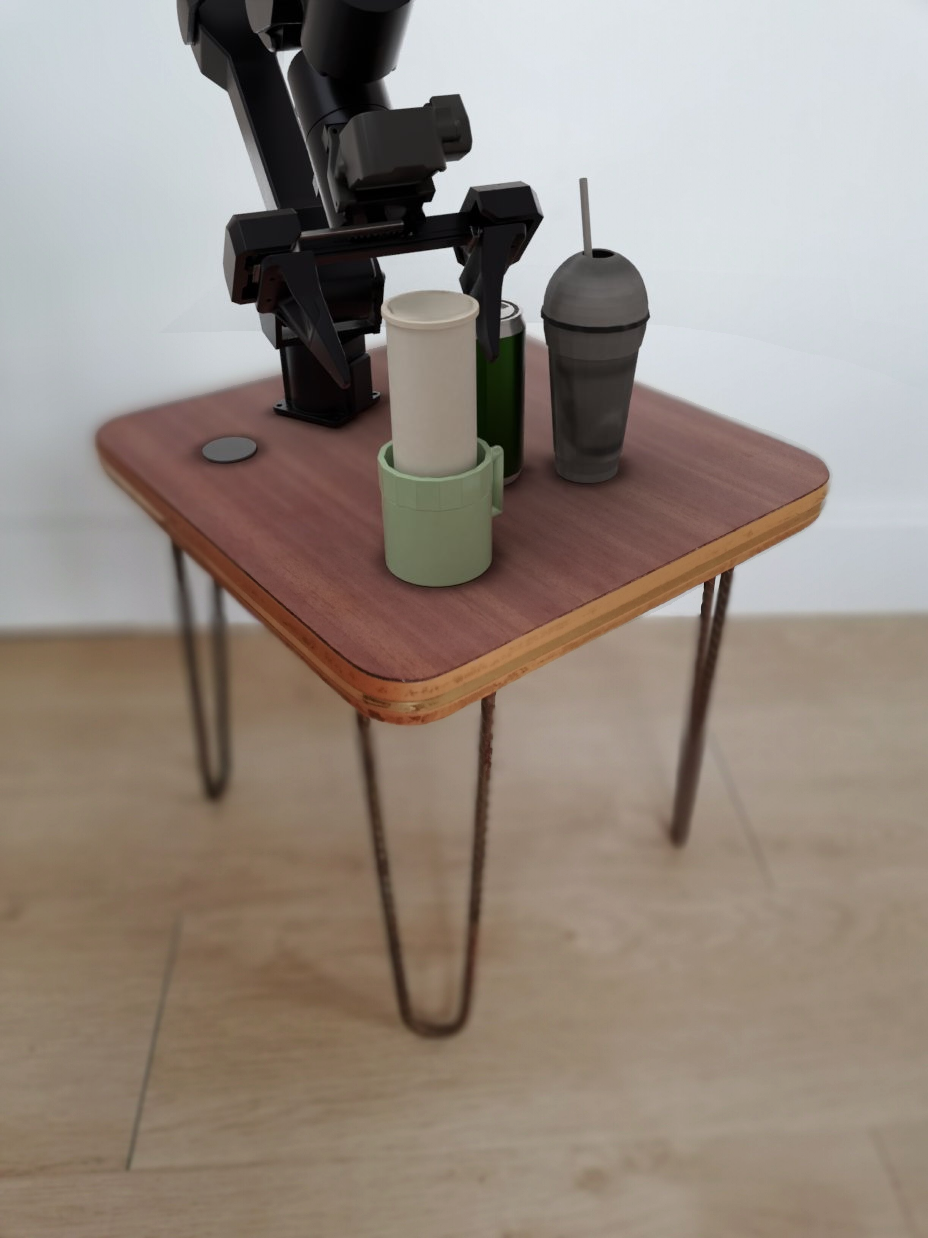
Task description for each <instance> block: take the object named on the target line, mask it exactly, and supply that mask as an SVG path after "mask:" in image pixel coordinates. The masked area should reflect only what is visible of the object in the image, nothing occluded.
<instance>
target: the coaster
mask: <svg viewBox="0 0 928 1238" xmlns="http://www.w3.org/2000/svg"><path fill="white" fill-rule="evenodd" d="M256 451H257V444H256V443H255V441H254V440H251V439H249V438H246V437H241V436H228V437H221V438H219V439H215V440H212V441H210V442H208V443H207V444H206V445H204V447H203V448H202V456H203V457H204V458H205V459H206V460H208V461H209V462H213V463H219V464H228V463H229V464H232V463H238V462H241V461H244V460H246V459H249V458H251V457H252V456H253V455H254V454H255V453H256Z"/></svg>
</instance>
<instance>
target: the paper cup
mask: <svg viewBox="0 0 928 1238" xmlns="http://www.w3.org/2000/svg"><path fill="white" fill-rule="evenodd" d="M478 314H479V304H478V302H477V301H476V300H475V299H474V298H472V297H470V296H468V295H466V294H463V292H462V293H461V292H459V291H452V290H444V289H425V290H415V291H414V290H413V291H408V292H404V293H400V294H396V295H394V296H391V297H390V298H388V299H385V301H383V304H382V306H381V315H382V320H383V321H384V322H385V338H386V355H387V372H388V388H389V408H390V421H391V423H390V424H391V436H392V437H391V440H392V441H393V458H394V469H395V470H396V471H398V472H400V473H402V474H407V475H411V476H415V477H422V478H443V477H449V476H456V475H460V474H463V473H465V472H468V471H471V470H473V469H475V468H476V467H477V406H476V317H477V316H478Z"/></svg>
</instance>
